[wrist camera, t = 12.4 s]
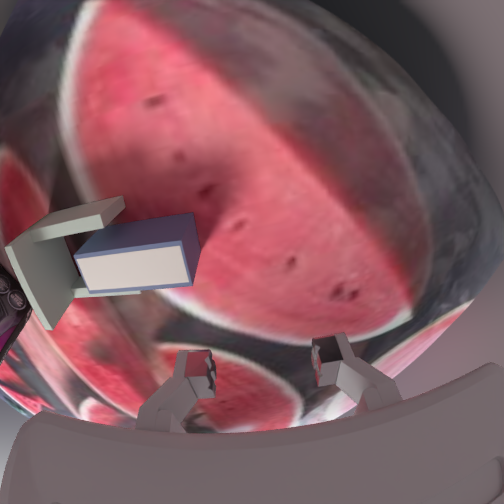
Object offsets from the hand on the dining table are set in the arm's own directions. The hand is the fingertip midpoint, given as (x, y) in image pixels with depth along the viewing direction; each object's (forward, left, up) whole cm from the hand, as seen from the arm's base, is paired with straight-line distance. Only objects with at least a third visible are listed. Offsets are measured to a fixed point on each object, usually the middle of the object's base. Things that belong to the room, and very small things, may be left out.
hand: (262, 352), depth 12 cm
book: (0, +10, -15) cm, 18 cm away
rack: (0, +16, -15) cm, 22 cm away
